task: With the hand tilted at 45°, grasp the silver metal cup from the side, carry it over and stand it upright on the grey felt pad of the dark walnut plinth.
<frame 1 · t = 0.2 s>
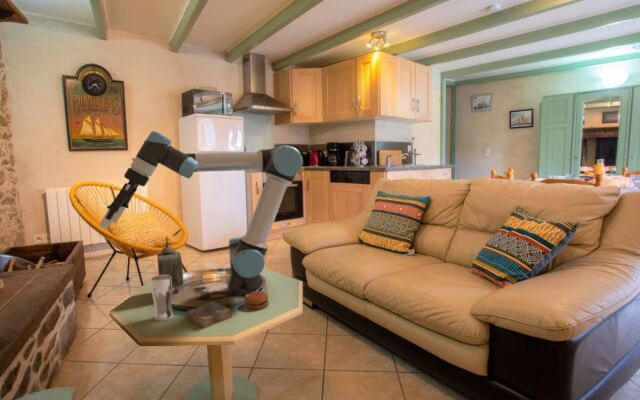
hand: (107, 224, 125), 35 cm above the table, tool tilted 35°, fingers open, 13 cm apart
walnut plinth: (209, 318, 129), on the table
burger: (256, 306, 139), on the table
silver metal cup: (164, 317, 131), on the table
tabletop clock: (172, 293, 154), on the table
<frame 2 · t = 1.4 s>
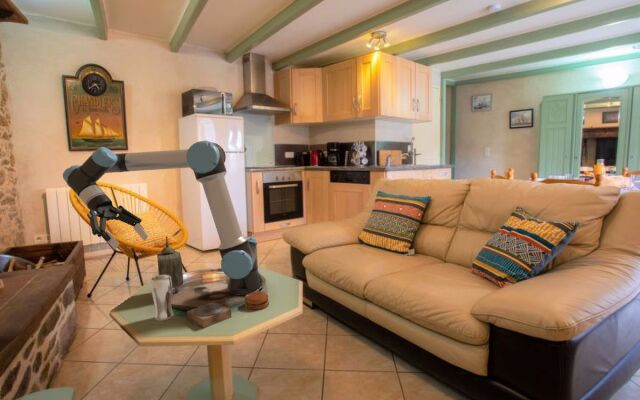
hand: (132, 242, 130), 28 cm above the table, tool tilted 45°, fingers open, 13 cm apart
nothing on the table moved.
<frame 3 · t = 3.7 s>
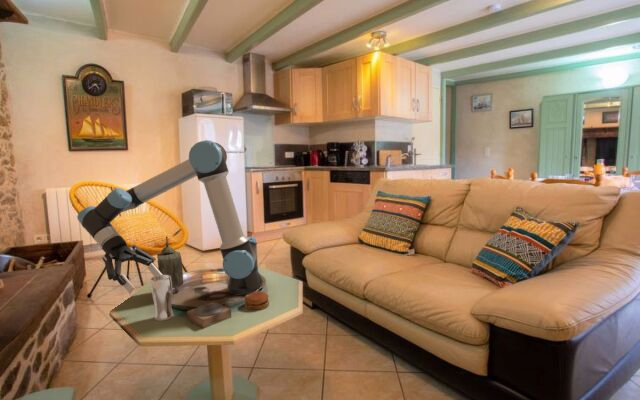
hand: (147, 283, 131), 12 cm above the table, tool tilted 45°, fingers open, 13 cm apart
nothing on the table moved.
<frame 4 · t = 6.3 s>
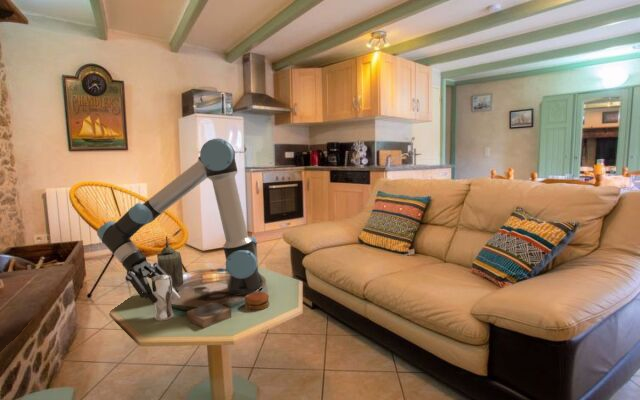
hand: (171, 303, 129), 5 cm above the table, tool tilted 45°, fingers closed on silver metal cup, 7 cm apart
silver metal cup: (164, 317, 131), on the table, touching gripper
everything else where it was.
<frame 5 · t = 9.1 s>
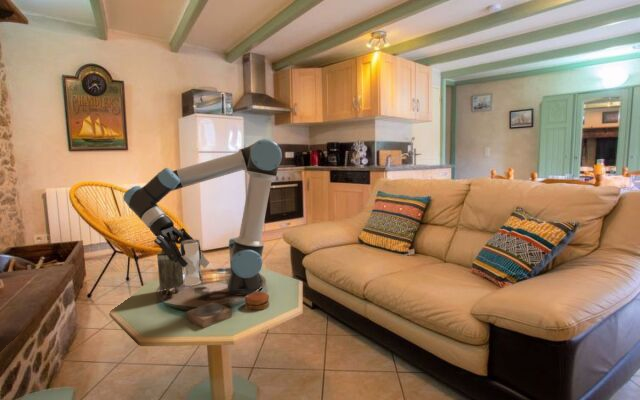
hand: (200, 268, 126), 19 cm above the table, tool tilted 45°, fingers closed on silver metal cup, 7 cm apart
silver metal cup: (193, 283, 127), point 13 cm above the table, touching gripper
everything else where it was.
when the fingers open (10 cm above the table, at t = 12.0 s): silver metal cup drops 1 cm, resting on walnut plinth.
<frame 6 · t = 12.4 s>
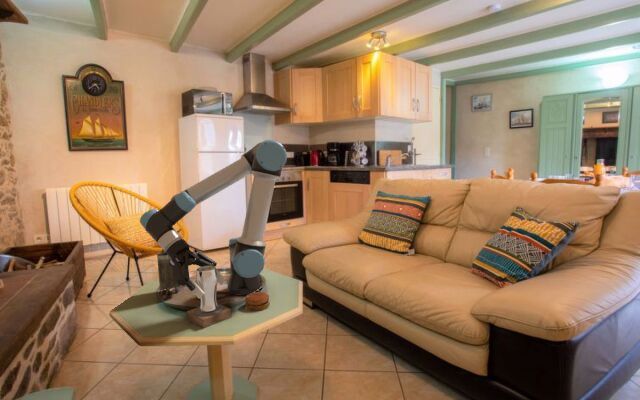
hand: (213, 289, 127), 11 cm above the table, tool tilted 45°, fingers open, 13 cm apart
silver metal cup: (209, 309, 129), point 3 cm above the table, touching walnut plinth
everything else where it was.
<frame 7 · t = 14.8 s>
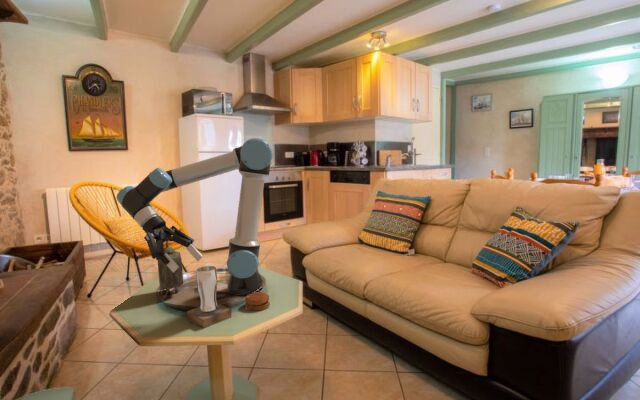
hand: (188, 264, 128), 20 cm above the table, tool tilted 45°, fingers open, 13 cm apart
nothing on the table moved.
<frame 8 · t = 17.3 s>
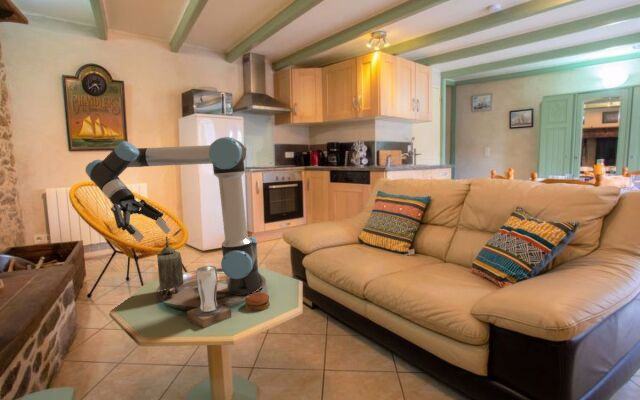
hand: (155, 235, 131), 30 cm above the table, tool tilted 45°, fingers open, 13 cm apart
at the end: silver metal cup inside the target area on the walnut plinth (0.3 cm from its centre), point 3.1 cm above the walnut plinth's base; silver metal cup tilted 0°; the gripper is holding nothing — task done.
